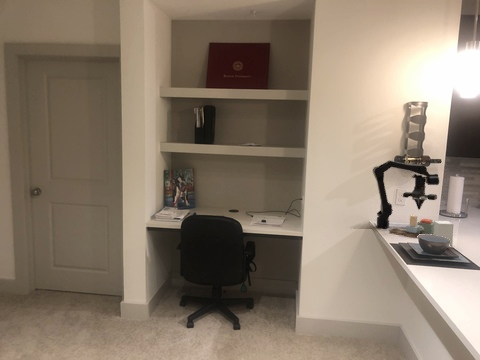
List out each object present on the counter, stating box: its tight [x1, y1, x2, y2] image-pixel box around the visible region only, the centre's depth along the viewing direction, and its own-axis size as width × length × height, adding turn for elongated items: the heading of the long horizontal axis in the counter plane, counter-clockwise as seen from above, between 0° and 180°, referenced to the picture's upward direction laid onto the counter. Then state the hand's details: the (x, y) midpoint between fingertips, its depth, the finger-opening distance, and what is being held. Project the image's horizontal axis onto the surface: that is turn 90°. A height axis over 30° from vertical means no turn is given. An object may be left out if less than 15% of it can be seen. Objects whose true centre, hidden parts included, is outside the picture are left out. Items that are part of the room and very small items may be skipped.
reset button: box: [420, 218, 433, 224], centre depth 223 cm, size 5×5×6 cm
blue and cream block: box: [405, 214, 421, 233], centre depth 216 cm, size 6×7×9 cm
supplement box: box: [433, 220, 454, 247], centre depth 196 cm, size 7×7×13 cm
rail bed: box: [389, 227, 426, 239], centre depth 219 cm, size 18×7×4 cm, turn 46°
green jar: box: [417, 220, 434, 235], centre depth 223 cm, size 8×7×6 cm
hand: (419, 209), depth 232 cm, fingers closed
